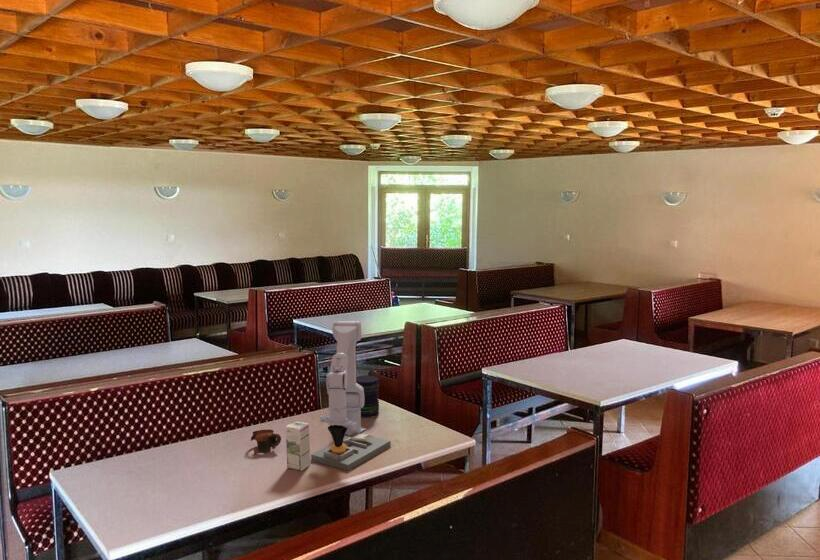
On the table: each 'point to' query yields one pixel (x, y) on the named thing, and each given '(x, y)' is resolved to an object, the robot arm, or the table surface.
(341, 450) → the push button
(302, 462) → the syrup box
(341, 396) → the robot arm
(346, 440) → the pale beige block
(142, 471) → the table surface
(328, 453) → the control panel
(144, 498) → the table surface
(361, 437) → the plate
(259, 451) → the pottery mug
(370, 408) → the storage jar
